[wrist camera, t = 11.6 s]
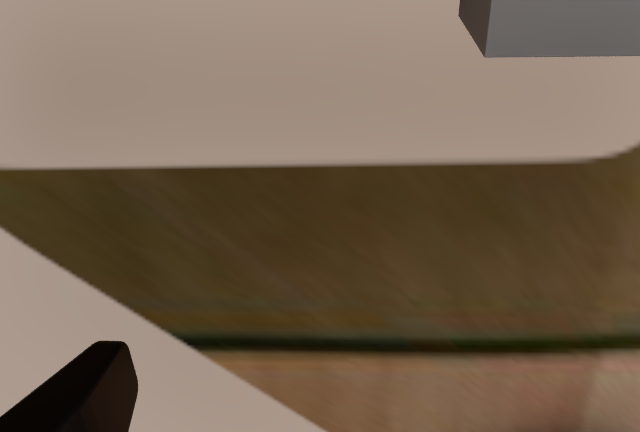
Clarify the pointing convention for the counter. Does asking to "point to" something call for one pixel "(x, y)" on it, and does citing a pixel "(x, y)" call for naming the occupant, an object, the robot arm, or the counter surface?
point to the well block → (553, 27)
